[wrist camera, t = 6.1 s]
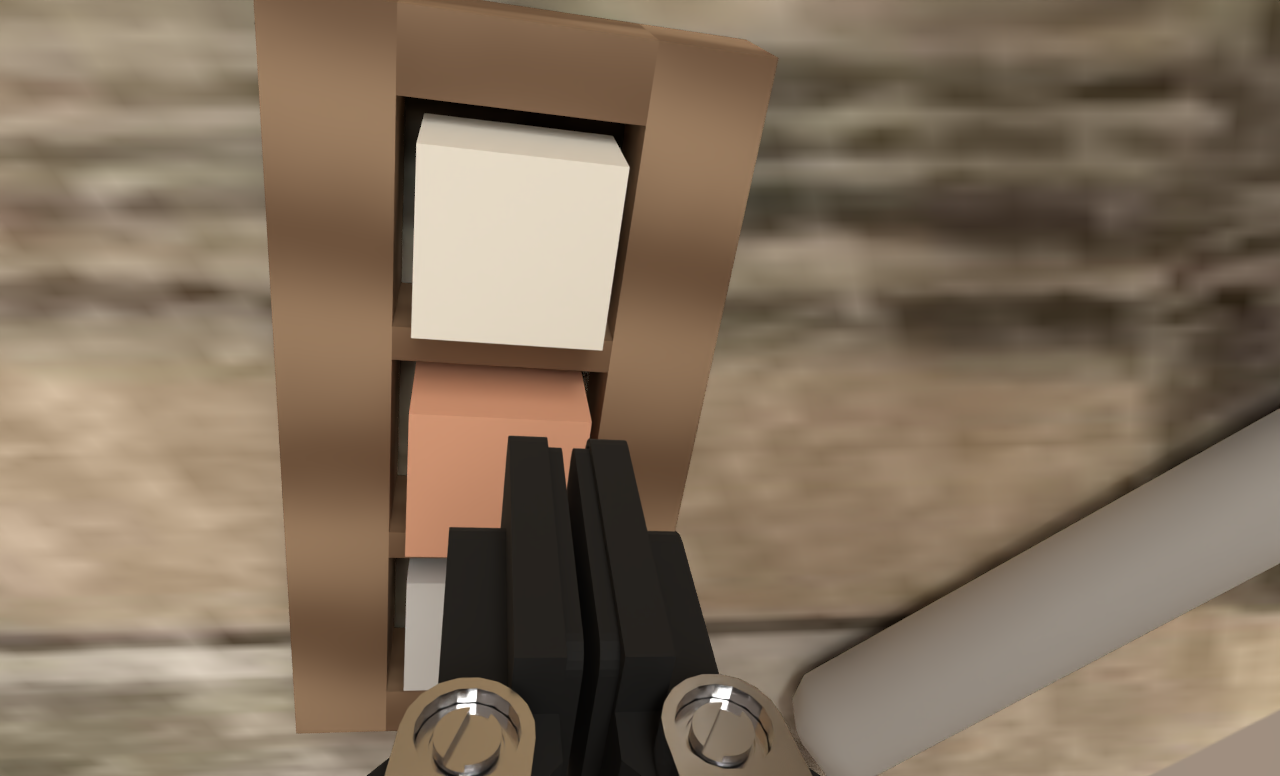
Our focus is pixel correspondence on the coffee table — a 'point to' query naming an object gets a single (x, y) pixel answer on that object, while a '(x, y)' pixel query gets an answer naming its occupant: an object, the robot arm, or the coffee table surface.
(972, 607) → the tube
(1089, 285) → the coffee table surface
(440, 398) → the key mid
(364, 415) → the wooden tray
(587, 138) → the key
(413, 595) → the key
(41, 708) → the coffee table surface
